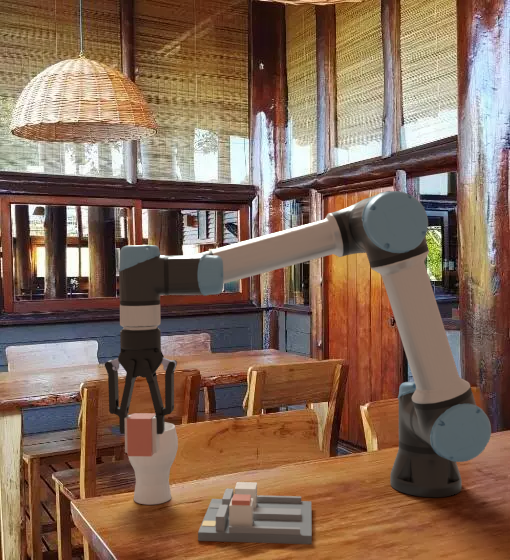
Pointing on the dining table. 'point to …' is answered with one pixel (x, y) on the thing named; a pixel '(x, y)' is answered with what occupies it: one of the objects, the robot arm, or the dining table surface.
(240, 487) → the block
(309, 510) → the panel
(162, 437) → the cup
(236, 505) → the block
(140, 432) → the cap
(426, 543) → the dining table surface
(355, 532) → the dining table surface
